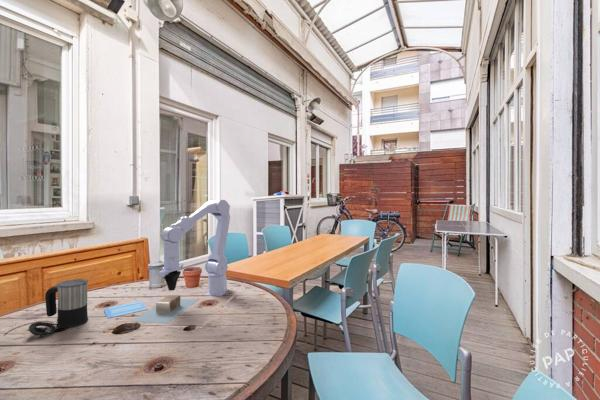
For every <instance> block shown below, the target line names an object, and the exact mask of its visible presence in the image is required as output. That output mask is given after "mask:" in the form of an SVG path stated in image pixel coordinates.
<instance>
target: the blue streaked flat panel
mask: <svg viewBox="0 0 600 400" xmlns="http://www.w3.org/2000/svg"><path fill="white" fill-rule="evenodd" d="M103 311H104V314H105V316H106V317H107V319H112V318H116V317H120V316H121V317H122V316H125V315H130V314H134V313H139V312H144V311H149V309H148V308H147V307H146V305H145V304H144V303H143V301H139V300H138V301H133V302H129V303H123V304H118V305H114V306H109V307H104V308H103Z"/></svg>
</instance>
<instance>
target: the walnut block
mask: <svg viewBox="0 0 600 400" xmlns="http://www.w3.org/2000/svg"><path fill="white" fill-rule="evenodd" d="M180 299H181V295H178V294H177V295H176V294H169V295H166V296H165V297H163V298H162V299H160V300H159V301H157V302H155V306H156V313H164V314H168V313H170V312H171V311H173V310H174V309H175V308H177V307H178V306H180Z"/></svg>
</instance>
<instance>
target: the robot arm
mask: <svg viewBox="0 0 600 400" xmlns="http://www.w3.org/2000/svg"><path fill="white" fill-rule="evenodd" d="M230 209H231V205H230V204H229V202H228V201H227V200H225V199H209V200H207V201H206V202H204V204H203V205H202V206H200V207H199V208H197V210H195V211H194V212H193V213H191V214H190V215H189V216H187V215H185V216H181V217H180V218H179V220H178V221H176V223H172V224H171V225H170V226H169V227H165V228H164V229H163V230H162V232H161V234H160V238H161V240H162V242H163V267H161V271H159V272H158V277H159V278H164V281H165V282H166V286H167V288H168V291H175V290H176V288H177V283H178V280H179V277H180V275H181V271H179V270H182V269H183V268H184V263H180V241H181V239H182V238H183V235H185V234H186V233H188V231H190V230H191V229H193V228H194V227H195V223H196V222H198V221H199V220H200V219H202V218H204V217H205V216H207V215H208V214H211V215H212V216H213V217H214V218H215V219H216V220H217V222H216V223H217V224H216V227H215V235H214V241H213V246H212V252H211V254H210V255H208V257H207V260H206V263H205V264H204V269H205V271H206V272H207V275H208V277H207V278H208V279H207V281H208V282H207V283H208V289H207V290H208V292H206V293H205V294H204V295H205V296H213V297H215V296H217V297H222V296H223V295H224V294H226V292H227V291H229V288H228V285H227V284H228V277H227V275H226V273H227V271H228V268H229V267H228V258H227V257H226V255H225V251H226V250H225V249H226V244H227V238H228V232H229V228H230V227H229V226H230V222H231V221H230V220H231V216H230Z"/></svg>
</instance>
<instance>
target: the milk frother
mask: <svg viewBox="0 0 600 400" xmlns="http://www.w3.org/2000/svg"><path fill="white" fill-rule="evenodd" d="M88 282H89V279H82V278H79V279H78V278H77V279H69V280H64V281H61V282H58V283H56V285H54V286H52V287H50V288H48V289H47V290H46V292H45V296H44V298H45V300H44V301H45V310H46V316H47V317H52V316H54V315H56V314H57V319H56V323H54V322H53V323H52V322H45V321H38V322H37V321H36V322H32V323H31V324H30V325H29V326H28V331H29V333H31V335H34V336H37V337H38V336H39V337H43V336H48V335H52V334H54V333H55V332H56V329H57V328H63V329H65V328H66V329H67V328H74V327H78V326H80V325H83V324H85V323H86V322H88V321H89V317H88ZM56 294H57V295H56ZM48 328H49V329H50V330H48Z"/></svg>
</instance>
